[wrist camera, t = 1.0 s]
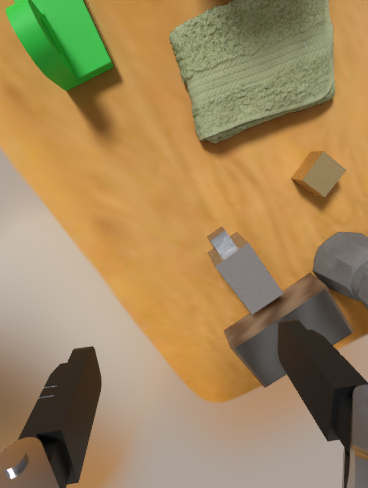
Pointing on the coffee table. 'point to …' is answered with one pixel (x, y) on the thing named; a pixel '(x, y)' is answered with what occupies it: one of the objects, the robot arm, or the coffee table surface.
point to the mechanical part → (60, 39)
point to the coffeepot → (344, 265)
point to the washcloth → (254, 62)
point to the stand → (282, 309)
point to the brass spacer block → (318, 173)
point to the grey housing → (243, 270)
